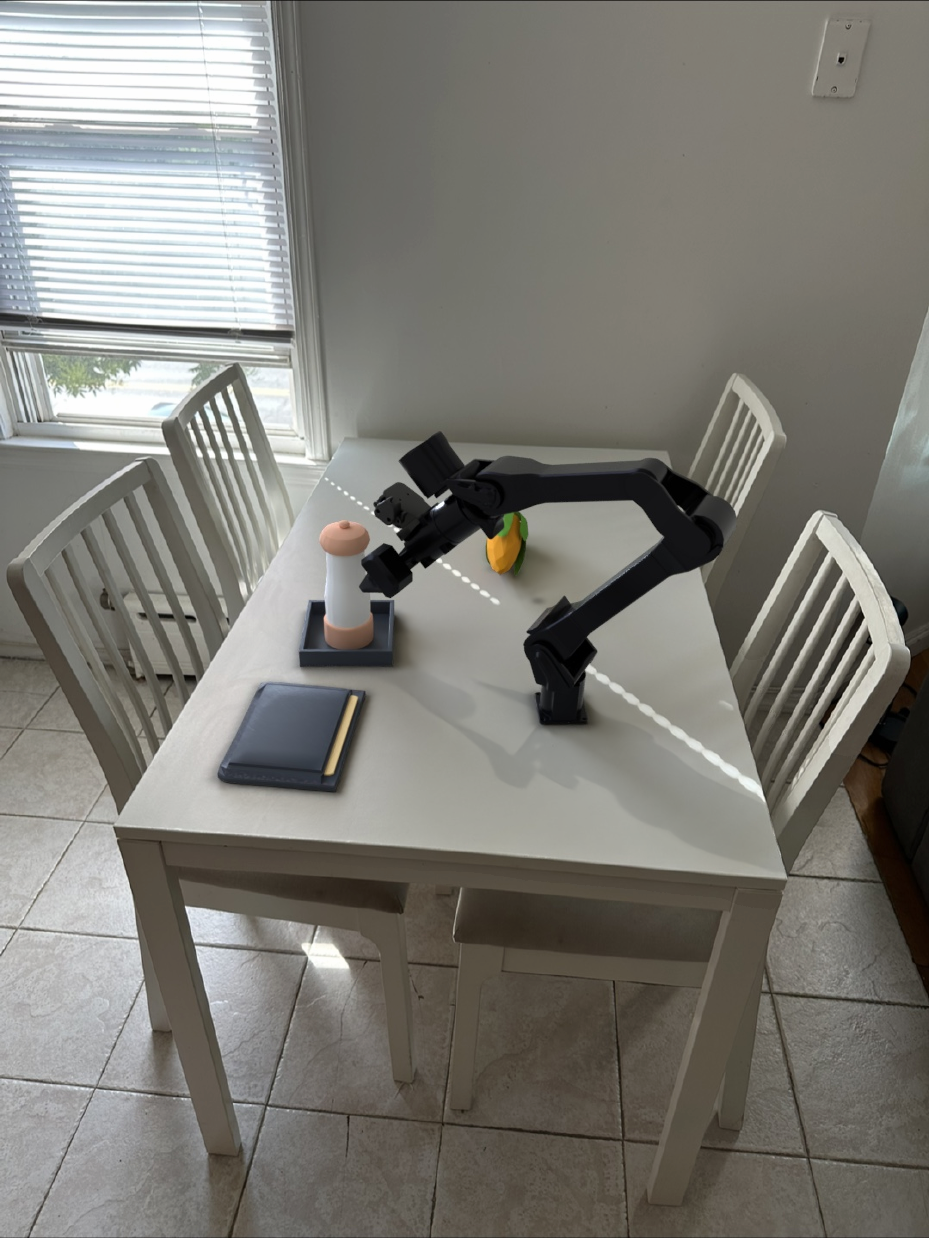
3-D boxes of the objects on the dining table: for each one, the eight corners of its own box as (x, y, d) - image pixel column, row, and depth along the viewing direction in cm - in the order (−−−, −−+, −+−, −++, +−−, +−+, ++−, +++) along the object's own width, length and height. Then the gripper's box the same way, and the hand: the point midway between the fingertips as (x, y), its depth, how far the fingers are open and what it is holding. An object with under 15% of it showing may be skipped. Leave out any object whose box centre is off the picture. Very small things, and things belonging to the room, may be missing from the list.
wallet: (261, 673, 127) (370, 683, 126) (262, 684, 128) (370, 695, 127) (209, 769, 110) (333, 783, 109) (210, 781, 111) (334, 795, 110)
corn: (529, 497, 164) (525, 549, 147) (529, 535, 168) (526, 590, 151) (487, 497, 165) (479, 549, 148) (489, 535, 169) (481, 590, 152)
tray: (392, 666, 133) (392, 651, 131) (299, 666, 132) (298, 651, 130) (394, 614, 145) (394, 599, 143) (309, 614, 144) (308, 599, 142)
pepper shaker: (316, 645, 136) (308, 528, 126) (336, 620, 142) (330, 506, 132) (362, 654, 134) (358, 536, 124) (380, 628, 140) (378, 514, 130)
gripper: (448, 449, 125) (381, 504, 135) (372, 498, 111) (303, 556, 121) (497, 515, 126) (426, 565, 137) (428, 572, 112) (355, 623, 123)
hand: (379, 575), depth 129 cm, fingers open, 9 cm apart
